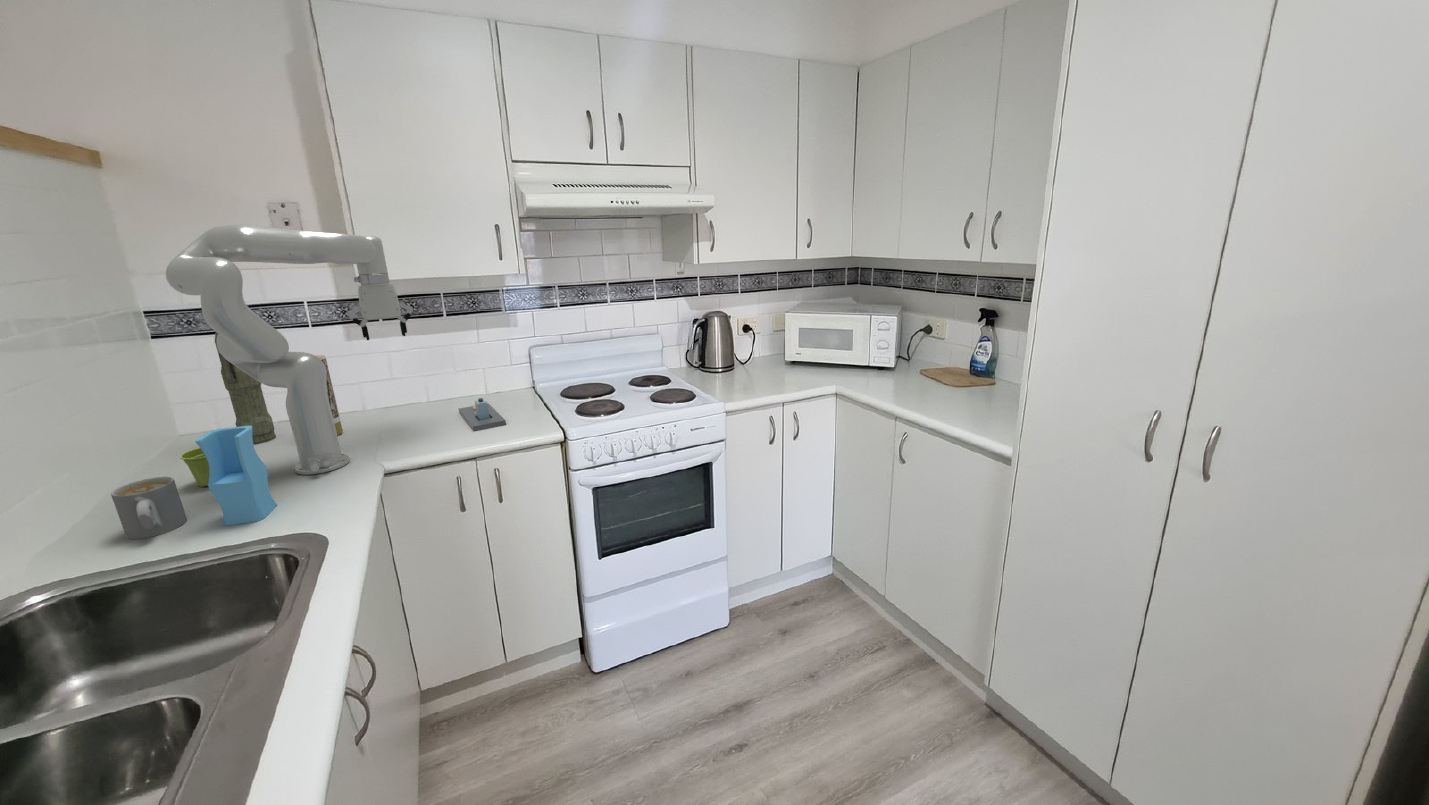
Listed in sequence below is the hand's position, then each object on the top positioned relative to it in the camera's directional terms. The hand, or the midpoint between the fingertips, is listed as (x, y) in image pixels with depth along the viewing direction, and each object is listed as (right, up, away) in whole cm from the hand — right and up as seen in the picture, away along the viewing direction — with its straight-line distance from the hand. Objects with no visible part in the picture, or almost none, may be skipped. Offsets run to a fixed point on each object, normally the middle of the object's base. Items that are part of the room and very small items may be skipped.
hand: (386, 337), depth 176 cm
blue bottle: (+24, -26, +16) cm, 38 cm away
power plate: (+21, -25, +19) cm, 38 cm away
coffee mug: (-22, -48, -50) cm, 73 cm away
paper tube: (-22, -30, +8) cm, 38 cm away
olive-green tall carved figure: (-43, -32, +6) cm, 54 cm away
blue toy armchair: (-6, -46, -44) cm, 64 cm away
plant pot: (-30, -41, -25) cm, 57 cm away
